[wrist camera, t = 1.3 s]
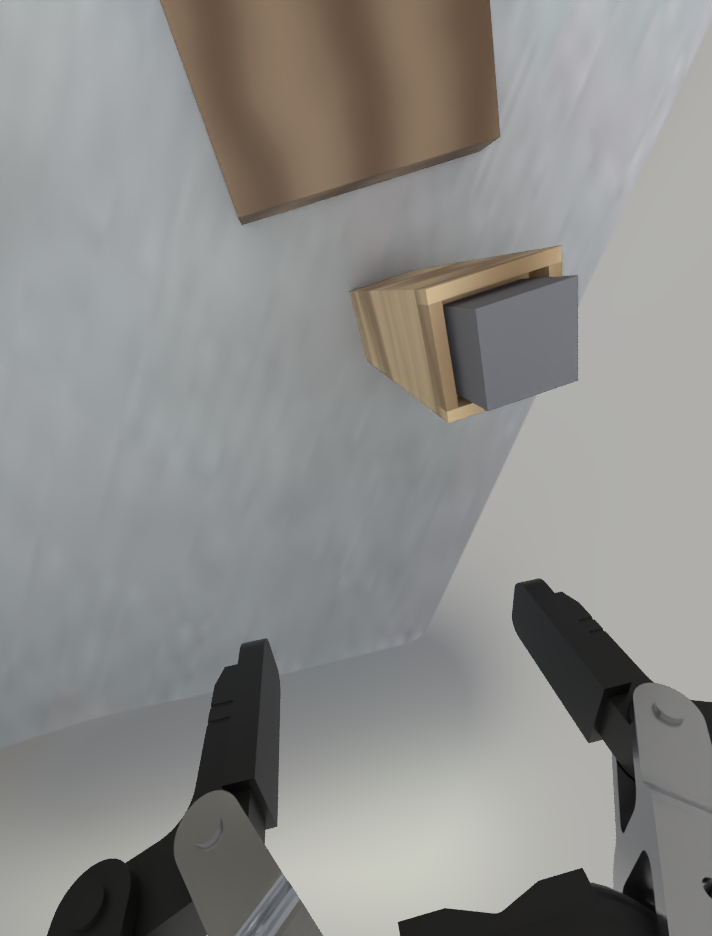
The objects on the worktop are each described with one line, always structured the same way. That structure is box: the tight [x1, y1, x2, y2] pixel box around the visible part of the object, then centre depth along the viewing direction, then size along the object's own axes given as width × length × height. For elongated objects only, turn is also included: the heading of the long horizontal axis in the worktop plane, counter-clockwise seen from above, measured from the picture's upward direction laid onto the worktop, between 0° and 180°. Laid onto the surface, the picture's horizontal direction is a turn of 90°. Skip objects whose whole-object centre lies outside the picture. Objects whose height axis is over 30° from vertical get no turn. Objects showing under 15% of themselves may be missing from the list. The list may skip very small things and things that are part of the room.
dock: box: [160, 0, 500, 225], centre depth 20 cm, size 16×12×2 cm
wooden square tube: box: [350, 245, 562, 423], centre depth 21 cm, size 5×5×15 cm
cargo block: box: [443, 275, 578, 411], centre depth 14 cm, size 3×3×3 cm
